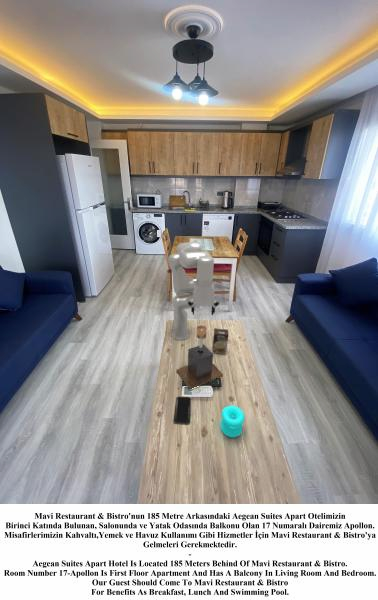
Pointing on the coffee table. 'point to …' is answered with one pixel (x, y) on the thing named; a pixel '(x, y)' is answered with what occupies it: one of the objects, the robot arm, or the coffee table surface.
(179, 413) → the phone
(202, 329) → the plunger
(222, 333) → the coffee box
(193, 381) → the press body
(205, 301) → the robot arm
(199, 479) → the coffee table surface
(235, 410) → the donuts
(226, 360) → the coffee table surface
